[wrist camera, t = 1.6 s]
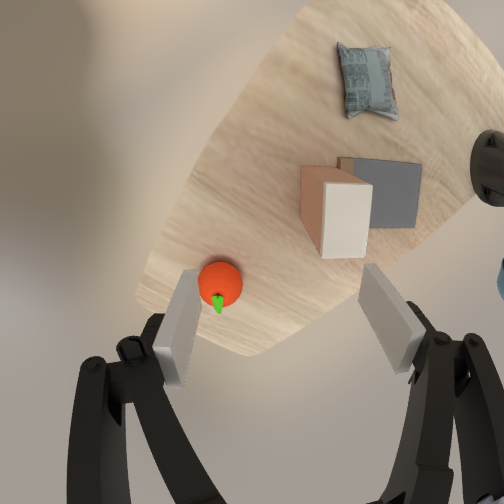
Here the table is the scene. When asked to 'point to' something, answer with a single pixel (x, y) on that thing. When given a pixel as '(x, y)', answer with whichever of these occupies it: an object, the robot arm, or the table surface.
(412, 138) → the table surface
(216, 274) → the clementine
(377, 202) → the mat
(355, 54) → the packaged food
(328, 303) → the table surface
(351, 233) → the terracotta block
